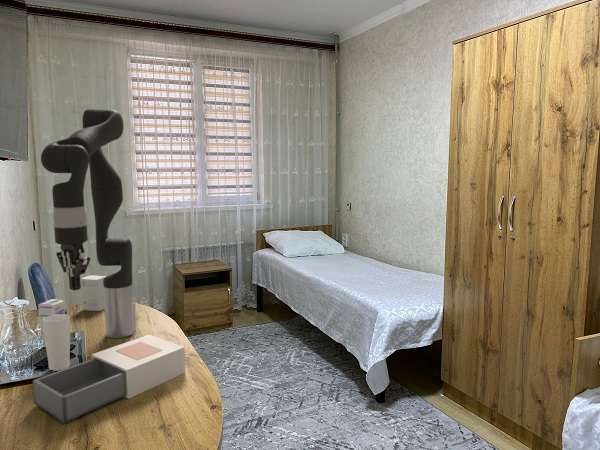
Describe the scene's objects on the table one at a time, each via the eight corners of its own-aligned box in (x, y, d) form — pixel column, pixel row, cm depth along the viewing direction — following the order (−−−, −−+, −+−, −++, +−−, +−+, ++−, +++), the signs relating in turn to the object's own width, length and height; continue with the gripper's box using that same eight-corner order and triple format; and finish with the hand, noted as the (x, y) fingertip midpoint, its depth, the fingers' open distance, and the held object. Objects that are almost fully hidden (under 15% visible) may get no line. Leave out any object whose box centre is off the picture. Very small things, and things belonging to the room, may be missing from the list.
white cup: (68, 361, 134) (65, 312, 132) (76, 368, 130) (73, 317, 128) (42, 368, 130) (39, 317, 128) (50, 375, 125) (46, 323, 123)
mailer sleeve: (128, 398, 113) (126, 369, 112) (93, 381, 122) (91, 354, 121) (185, 372, 127) (184, 346, 126) (150, 358, 136) (149, 334, 135)
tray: (64, 423, 101) (62, 398, 100) (34, 403, 109) (32, 380, 108) (135, 391, 115) (134, 369, 114) (104, 376, 123) (102, 355, 123)
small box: (109, 306, 186) (107, 275, 185) (99, 311, 180) (97, 279, 179) (92, 305, 188) (90, 274, 186) (81, 310, 182) (79, 278, 180)
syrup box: (57, 349, 143) (54, 304, 141) (40, 347, 144) (37, 303, 142) (69, 342, 149) (67, 299, 147) (54, 341, 150) (51, 298, 148)
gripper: (98, 224, 115) (102, 290, 118) (71, 219, 123) (76, 281, 125) (69, 228, 109) (74, 298, 112) (42, 223, 117) (48, 288, 119)
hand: (75, 289), depth 119 cm, fingers closed
